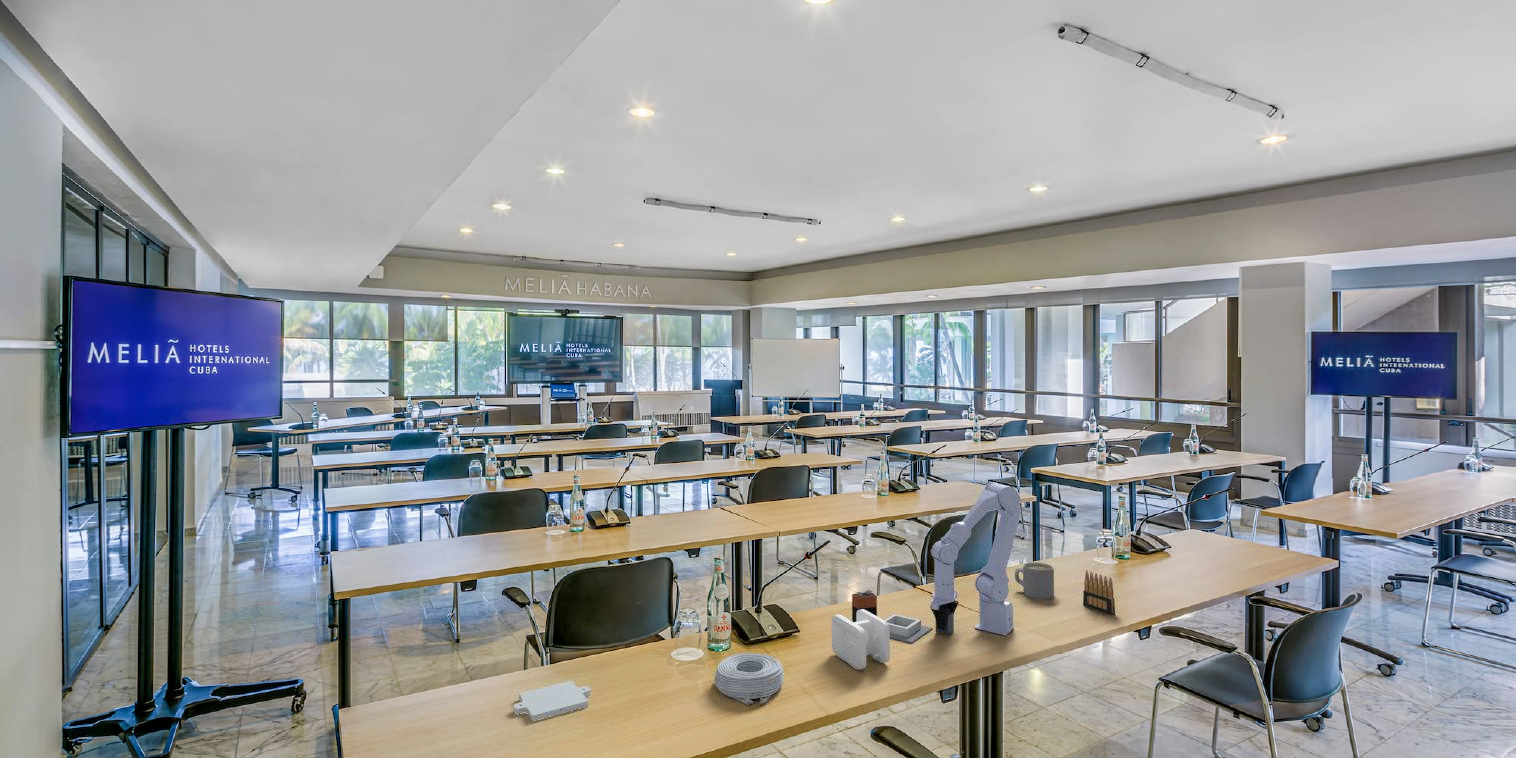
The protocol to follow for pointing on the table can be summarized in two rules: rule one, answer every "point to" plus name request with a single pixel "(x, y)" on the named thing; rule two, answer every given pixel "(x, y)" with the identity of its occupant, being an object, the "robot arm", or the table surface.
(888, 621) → the end holder
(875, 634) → the cable organizer
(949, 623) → the block
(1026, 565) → the coffee mug
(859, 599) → the battery
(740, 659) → the cable
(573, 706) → the mounting plate
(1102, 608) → the ammunition clip
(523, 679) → the table surface
